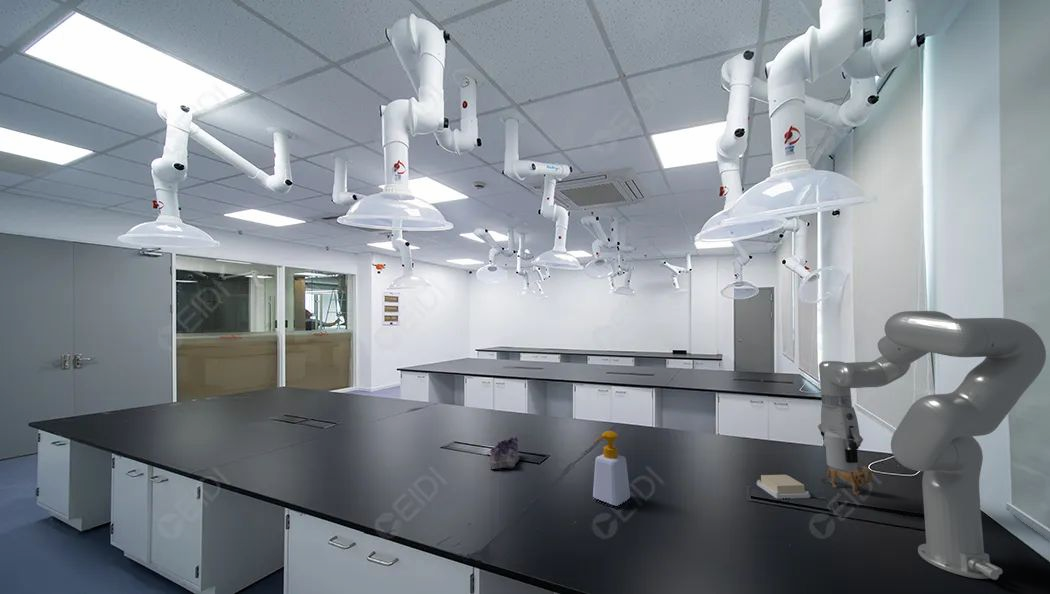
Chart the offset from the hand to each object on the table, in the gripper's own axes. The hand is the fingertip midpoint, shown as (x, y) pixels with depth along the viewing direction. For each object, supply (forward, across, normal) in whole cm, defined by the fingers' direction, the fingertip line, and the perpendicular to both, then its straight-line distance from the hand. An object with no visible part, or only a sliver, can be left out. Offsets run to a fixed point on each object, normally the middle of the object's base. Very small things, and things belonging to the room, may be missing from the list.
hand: (841, 457), depth 126 cm
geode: (+13, +45, +106) cm, 116 cm away
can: (+4, 0, 0) cm, 4 cm away
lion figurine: (+15, +12, -11) cm, 22 cm away
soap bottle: (+15, +7, +72) cm, 74 cm away
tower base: (+14, +12, +12) cm, 22 cm away
